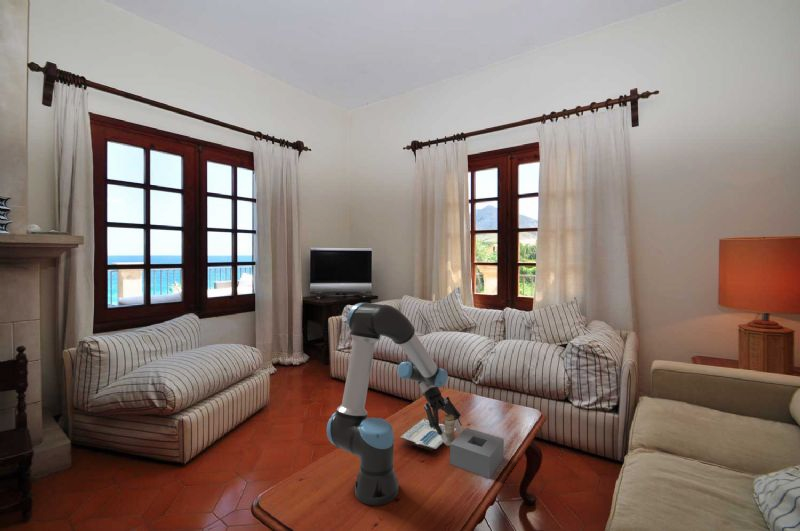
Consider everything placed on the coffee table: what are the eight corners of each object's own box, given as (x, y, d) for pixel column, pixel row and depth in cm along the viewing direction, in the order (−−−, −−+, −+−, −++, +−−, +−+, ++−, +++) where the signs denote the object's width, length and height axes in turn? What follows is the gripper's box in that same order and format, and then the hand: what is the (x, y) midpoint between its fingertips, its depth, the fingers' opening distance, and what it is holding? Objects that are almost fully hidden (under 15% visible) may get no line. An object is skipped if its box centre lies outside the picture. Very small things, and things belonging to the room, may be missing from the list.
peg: (451, 447, 149) (451, 419, 149) (443, 444, 152) (443, 417, 151) (455, 443, 153) (455, 416, 152) (447, 440, 155) (447, 413, 155)
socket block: (489, 478, 128) (489, 456, 128) (450, 464, 137) (450, 443, 137) (503, 458, 141) (503, 438, 141) (466, 446, 150) (466, 427, 150)
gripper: (443, 388, 171) (467, 434, 158) (408, 399, 158) (431, 449, 145) (451, 381, 166) (476, 427, 153) (415, 391, 154) (439, 442, 141)
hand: (454, 438), depth 149 cm, fingers open, 9 cm apart
